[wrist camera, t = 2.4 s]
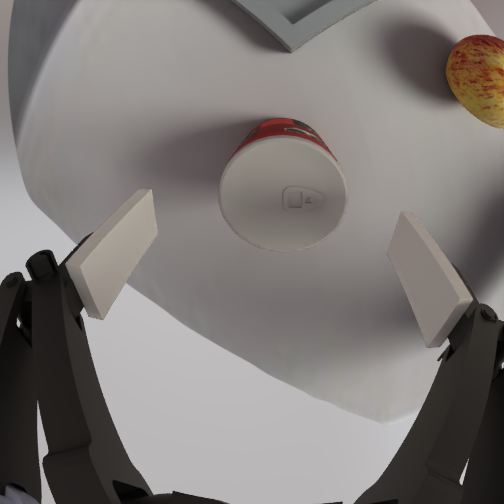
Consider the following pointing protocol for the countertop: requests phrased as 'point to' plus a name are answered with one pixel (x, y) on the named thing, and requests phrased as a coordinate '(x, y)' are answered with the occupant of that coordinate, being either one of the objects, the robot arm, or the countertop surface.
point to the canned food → (283, 188)
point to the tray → (298, 17)
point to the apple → (479, 77)
